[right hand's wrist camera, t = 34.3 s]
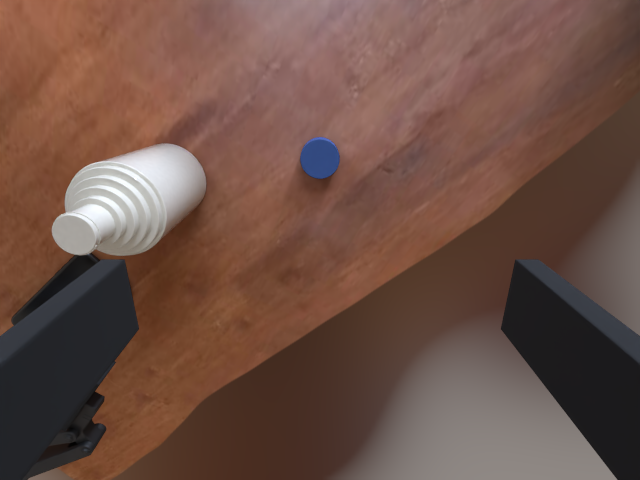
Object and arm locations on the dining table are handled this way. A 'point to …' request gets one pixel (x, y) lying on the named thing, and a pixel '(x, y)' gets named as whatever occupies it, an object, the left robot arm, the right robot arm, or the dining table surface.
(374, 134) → the dining table surface
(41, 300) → the smartphone
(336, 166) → the cap
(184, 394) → the dining table surface
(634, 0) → the dining table surface
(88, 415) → the left robot arm
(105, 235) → the bottle
